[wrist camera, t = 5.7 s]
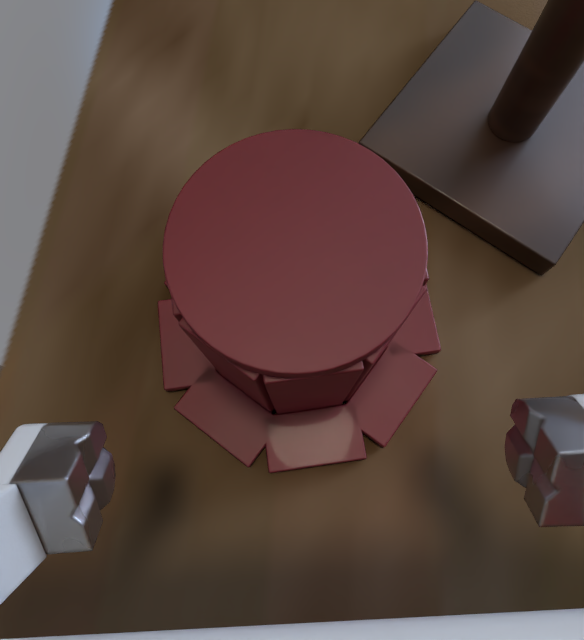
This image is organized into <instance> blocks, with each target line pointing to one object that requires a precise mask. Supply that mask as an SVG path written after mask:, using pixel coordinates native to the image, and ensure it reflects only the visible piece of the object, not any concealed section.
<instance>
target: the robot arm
mask: <svg viewBox="0 0 584 640" xmlns="http://www.w3.org/2000/svg"><path fill="white" fill-rule="evenodd" d="M510 416H511V418H512V419H513V421H514V423H515V425H514V426H513V427H512V428H511V429H510V430H509V431H508V432H507V434H506V441H505V455H506V462H507V465H508V468H509V471H510V473H511V475H512V477H513V479H514V481H516V482H517V483H519V484H520V485H522V486H523V487H525V488H526V491H525V496H524V500H525V502H526V503H527V505H528V507H529V509H530V511H531V513H532V515H533V516H534V518H535V520H536V522H537V524H538V526H539V527H557V526H584V394H578V395H568V396H559V397H542V398H525V399H516V400H515V402H514V403H513V405H512V409H511V414H510ZM106 438H107V436H106V433H105V430H104V427H103V424H101V423H100V422H98V421H93V422H62V423H48V424H46V423H41V424H23V425H21V426H19V427H17V428H16V430H15V431H14V433H13V434H12V436H11V437H10V439H9V440H8V442H7V443H6V445H5V446H4V448H3V449H2V451H1V452H0V604H1V603H2V602H3V601H4V600H5V599H6V598H7V597H8V596H9V595H10V594H11V593H12V592H13V591H14V590H15V589H16V588H17V587H18V586H19V585H20V584H21V583H22V582H23V581H24V580H25V579H26V578H27V577H28V576H29V575H30V574H31V573H32V572H33V571H34V570H35V568H36V567H37V566H38V565H39V564H40V563H41V562H42V561H43V560H44V559H45V558H46V557H47V556H46V554H58V553H70V552H82V551H92V550H93V547H94V545H95V542H96V539H97V536H98V534H99V531H100V528H101V525H102V523H103V519H102V516H101V513H100V510H101V509H102V508H104V507H105V506H106V505H107V504H108V503H109V502H110V500H111V497H112V494H113V491H114V484H115V464H114V460H113V457H112V454H111V453H110V452H108V451H107V450H106V449H105V448H103V445H104V443H105V441H106ZM0 640H584V608H581V609H562V610H543V611H524V612H505V613H486V614H468V615H449V616H430V617H411V618H392V619H373V620H354V621H335V622H316V623H297V624H278V625H259V626H240V627H220V628H201V629H182V630H164V631H145V632H126V633H107V634H88V635H69V636H50V637H31V638H12V639H0Z"/></svg>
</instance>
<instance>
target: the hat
mask: <svg viewBox="0 0 584 640" xmlns="http://www.w3.org/2000/svg"><path fill="white" fill-rule="evenodd" d="M427 260H428V241H427V235H426V229H425V224H424V221H423V217H422V214H421V211H420V209H419V206H418V204H417V202H416V200H415V198H414V196H413V194H412V193H411V191H410V189H409V188H408V186H407V185H406V183H405V182H404V181H403V179H402V178H401V177H400V176H399V175H398V173H397V172H396V171H395V170H394V169H393V168H392V167H391V166H390V165H389V164H387V163H386V162H385V161H384V160H383V159H382V158H380V157H379V156H378V155H376V154H375V153H373V152H372V151H371V150H369V149H367V148H365V147H363V146H362V145H360V144H358V143H356V142H354V141H351V140H349V139H346V138H344V137H341V136H338V135H334V134H330V133H327V132H321V131H314V130H302V129H289V130H277V131H271V132H266V133H261V134H258V135H255V136H251V137H248V138H245V139H243V140H241V141H238V142H236V143H234V144H232V145H230V146H228V147H227V148H225V149H223V150H221V151H220V152H218V153H217V154H215V155H214V156H213V157H211V158H210V159H209V160H208V161H206V162H205V163H204V164H203V165H202V166H201V167H200V168H199V169H198V170H197V171H196V172H195V173H194V174H193V175H192V176H191V178H190V179H189V180H188V181H187V183H186V184H185V185H184V186H183V188H182V190H181V191H180V193H179V195H178V197H177V198H176V200H175V202H174V205H173V207H172V209H171V212H170V214H169V217H168V221H167V224H166V228H165V233H164V241H163V265H164V272H165V278H166V281H165V282H164V284H165V285H166V287H167V288H168V289H169V291H170V294H171V299H169V300H161V301H158V314H159V328H160V341H161V355H162V368H163V382H164V390H166V391H168V392H169V391H176V390H183V389H188V390H187V391H186V393H185V394H184V395H183V396H182V398H181V399H180V400H179V401H178V403H177V404H176V405H175V406H174V409H175V410H176V411H178V412H179V413H180V414H182V415H183V416H184V417H185V418H187V419H188V420H189V421H190V422H192V423H193V424H194V425H195V426H197V427H198V428H199V429H200V430H202V431H203V432H204V433H205V434H207V435H208V436H209V437H210V438H212V439H213V440H214V441H215V442H217V443H218V444H219V445H220V446H222V447H223V448H224V449H225V450H227V451H228V452H229V453H230V454H232V455H233V456H234V457H235V458H237V459H238V460H239V461H240V462H242V463H243V464H244V465H246V466H247V467H250V466H251V465H252V464H253V462H254V461H255V460H256V458H257V457H258V456H259V454H260V453H261V452H262V450H263V449H264V448H265V447H266V455H267V463H268V471H269V473H274V472H281V471H288V470H295V469H301V468H308V467H315V466H322V465H329V464H335V463H342V462H349V461H356V460H363V459H366V451H365V446H364V440H363V434H364V435H366V436H367V437H368V438H370V439H371V440H373V441H374V442H375V443H377V444H378V445H379V446H381V447H385V446H386V445H387V443H388V442H389V440H390V439H391V438H392V436H393V435H394V433H395V432H396V430H397V429H398V427H399V426H400V424H401V423H402V422H403V420H404V419H405V417H406V416H407V414H408V413H409V411H410V410H411V408H412V407H413V405H414V404H415V403H416V401H417V400H418V398H419V397H420V395H421V394H422V392H423V391H424V389H425V388H426V387H427V385H428V384H429V382H430V381H431V379H432V378H433V376H434V375H435V373H436V372H437V369H436V368H434V367H433V366H431V365H430V364H429V363H427V362H426V361H424V360H423V359H421V358H420V357H419V356H421V355H428V354H435V353H438V352H440V351H441V347H440V342H439V338H438V334H437V329H436V325H435V320H434V316H433V311H432V307H431V303H430V298H429V294H428V289H427V285H426V283H427V282H428V280H429V276H428V272H427ZM218 372H219V373H220V374H219V373H218ZM343 401H345V402H347V403H346V404H344V405H341V404H342V403H343ZM274 409H275V410H276V412H277V414H275V415H273V414H272V412H273V411H274ZM362 433H363V434H362Z"/></svg>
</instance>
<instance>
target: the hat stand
mask: <svg viewBox="0 0 584 640" xmlns="http://www.w3.org/2000/svg"><path fill="white" fill-rule="evenodd" d="M359 144H360V145H362V146H363V147H365V148H367V149H369V150H371V151H372V152H373V153H375V154H376V155H378V156H379V157H380V158H382V159H383V160H384V161H385V162H386V163H387V164H389V165H390V166H391V167H392V168H393V169H394V170H395V171H396V172H397V173H398V175H399V176H400V177H401V178H402V179H403V181H404V182H405V183H406V185H407V186H408V188H409V189H410V191H411V193H412V194H414V195H415V196H417V197H418V198H420V199H421V200H423V201H425V202H426V203H428V204H429V205H431V206H433V207H434V208H436V209H437V210H439V211H440V212H442V213H444V214H445V215H447V216H448V217H450V218H451V219H453V220H455V221H456V222H458V223H459V224H461V225H463V226H464V227H466V228H467V229H469V230H470V231H472V232H474V233H475V234H477V235H478V236H480V237H481V238H483V239H485V240H486V241H488V242H489V243H491V244H493V245H494V246H496V247H497V248H499V249H500V250H502V251H504V252H505V253H507V254H508V255H510V256H511V257H513V258H515V259H516V260H518V261H519V262H521V263H523V264H524V265H526V266H527V267H529V268H530V269H532V270H534V271H535V272H537V273H538V274H540V275H543V274H544V273H546V272H547V271H548V270H549V269H551V268H552V267H553V266H554V265H556V263H557V262H558V260H559V259H560V257H561V256H562V254H563V253H564V251H565V250H566V248H567V247H568V245H569V244H570V242H571V241H572V239H573V238H574V236H575V235H576V233H577V232H578V230H579V229H580V227H581V226H582V224H583V223H584V0H548V2H547V4H546V6H545V7H544V9H543V11H542V13H541V15H540V17H539V19H538V21H537V23H536V24H535V26H534V28H533V30H530V29H528V28H526V27H524V26H522V25H521V24H519V23H517V22H515V21H513V20H511V19H509V18H508V17H506V16H504V15H502V14H500V13H498V12H497V11H495V10H493V9H491V8H489V7H487V6H485V5H484V4H482V3H480V2H478V1H474V2H473V4H472V5H471V6H470V7H469V8H468V10H467V11H466V12H465V13H464V14H463V16H462V17H461V18H460V19H459V21H458V22H457V23H456V24H455V25H454V27H453V28H452V29H451V30H450V32H449V33H448V34H447V35H446V36H445V38H444V39H443V40H442V41H441V43H440V44H439V45H438V46H437V47H436V49H435V50H434V51H433V52H432V53H431V55H430V56H429V57H428V58H427V60H426V61H425V62H424V63H423V64H422V66H421V67H420V68H419V69H418V71H417V72H416V73H415V74H414V75H413V77H412V78H411V79H410V80H409V82H408V83H407V84H406V85H405V86H404V88H403V89H402V90H401V91H400V92H399V94H398V95H397V96H396V97H395V99H394V100H393V101H392V102H391V103H390V105H389V106H388V107H387V108H386V110H385V111H384V112H383V113H382V114H381V116H380V117H379V118H378V119H377V121H376V122H375V123H374V124H373V125H372V127H371V128H370V129H369V130H368V131H367V133H366V134H365V135H364V136H363V138H362V139H361V140H360V141H359Z"/></svg>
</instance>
